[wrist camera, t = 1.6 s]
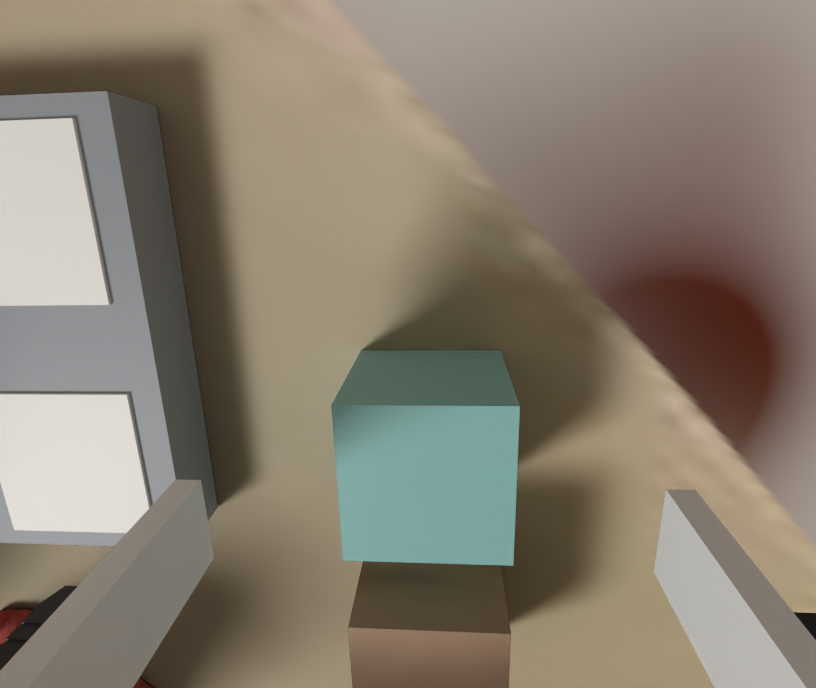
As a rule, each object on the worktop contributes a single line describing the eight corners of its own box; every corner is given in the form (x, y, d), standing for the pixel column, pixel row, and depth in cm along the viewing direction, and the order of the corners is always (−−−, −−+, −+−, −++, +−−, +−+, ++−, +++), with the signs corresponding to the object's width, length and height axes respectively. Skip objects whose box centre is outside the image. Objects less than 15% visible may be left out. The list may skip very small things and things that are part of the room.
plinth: (217, 507, 25) (186, 550, 22) (44, 503, 26) (-9, 544, 22) (156, 105, 20) (104, 90, 17) (-58, 114, 20) (-146, 100, 17)
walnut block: (492, 629, 26) (505, 754, 20) (376, 625, 26) (356, 745, 21) (495, 529, 24) (510, 633, 18) (371, 526, 25) (348, 627, 19)
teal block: (497, 473, 23) (513, 565, 18) (367, 471, 24) (342, 560, 18) (500, 349, 22) (519, 406, 16) (361, 349, 22) (331, 405, 16)
